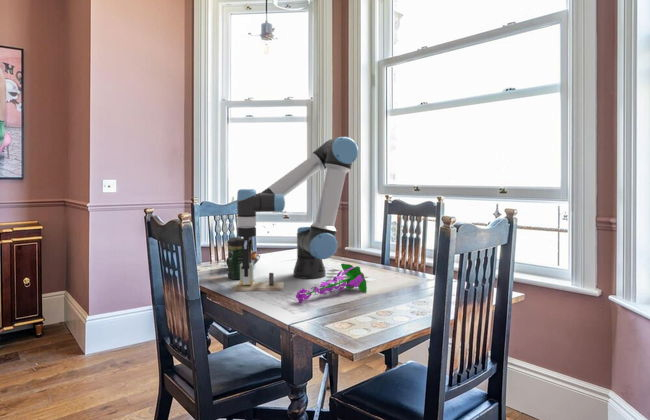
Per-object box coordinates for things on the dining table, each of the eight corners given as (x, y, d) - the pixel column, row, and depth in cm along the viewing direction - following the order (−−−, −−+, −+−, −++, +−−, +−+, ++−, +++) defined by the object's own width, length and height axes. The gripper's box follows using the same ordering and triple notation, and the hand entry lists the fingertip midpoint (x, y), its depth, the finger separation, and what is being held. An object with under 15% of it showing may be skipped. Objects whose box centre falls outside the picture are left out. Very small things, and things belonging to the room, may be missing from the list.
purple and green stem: (369, 298, 176) (308, 324, 151) (343, 273, 185) (281, 294, 160) (381, 275, 170) (319, 299, 146) (353, 251, 179) (290, 269, 154)
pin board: (283, 284, 182) (283, 270, 182) (283, 290, 172) (283, 275, 172) (236, 285, 180) (236, 271, 180) (233, 291, 170) (233, 276, 170)
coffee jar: (250, 278, 192) (250, 238, 191) (234, 280, 188) (233, 239, 187) (241, 274, 200) (241, 235, 199) (225, 276, 196) (225, 236, 195)
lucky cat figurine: (254, 265, 221) (262, 244, 216) (253, 279, 211) (262, 257, 205) (225, 258, 217) (233, 236, 212) (223, 272, 207) (231, 249, 201)
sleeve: (241, 281, 178) (241, 262, 177) (253, 281, 178) (253, 262, 178) (240, 284, 173) (239, 265, 172) (252, 284, 173) (252, 265, 173)
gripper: (239, 224, 183) (240, 277, 184) (234, 229, 165) (235, 288, 166) (257, 224, 183) (257, 277, 185) (254, 229, 165) (254, 287, 167)
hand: (247, 282), depth 176 cm, fingers closed on sleeve, 5 cm apart
